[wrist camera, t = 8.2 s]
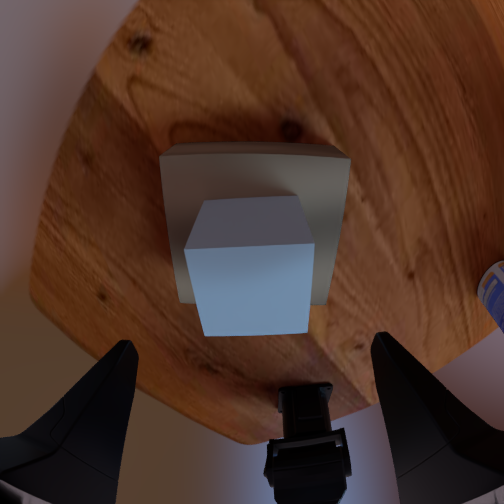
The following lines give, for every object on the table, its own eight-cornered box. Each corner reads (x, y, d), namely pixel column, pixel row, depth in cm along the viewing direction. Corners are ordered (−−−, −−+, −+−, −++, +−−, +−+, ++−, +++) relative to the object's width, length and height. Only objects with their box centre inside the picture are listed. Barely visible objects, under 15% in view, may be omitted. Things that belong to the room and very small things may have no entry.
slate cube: (296, 271, 18) (307, 332, 13) (215, 275, 18) (204, 336, 14) (297, 195, 15) (314, 243, 11) (204, 200, 15) (183, 249, 11)
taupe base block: (316, 270, 22) (325, 304, 19) (190, 269, 22) (180, 302, 19) (332, 144, 17) (350, 159, 14) (177, 142, 17) (159, 156, 14)
